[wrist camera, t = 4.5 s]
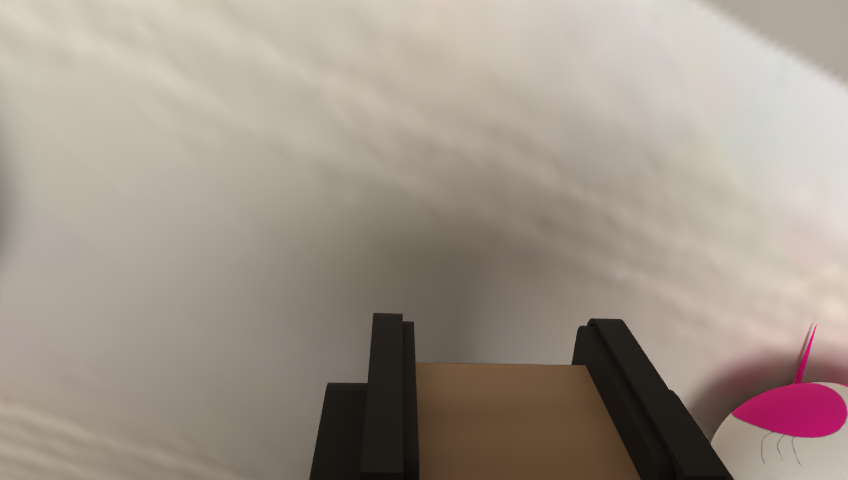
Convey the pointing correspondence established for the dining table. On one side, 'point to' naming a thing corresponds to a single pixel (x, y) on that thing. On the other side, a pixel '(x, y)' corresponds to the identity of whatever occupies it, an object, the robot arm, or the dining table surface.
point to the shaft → (515, 424)
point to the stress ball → (788, 433)
